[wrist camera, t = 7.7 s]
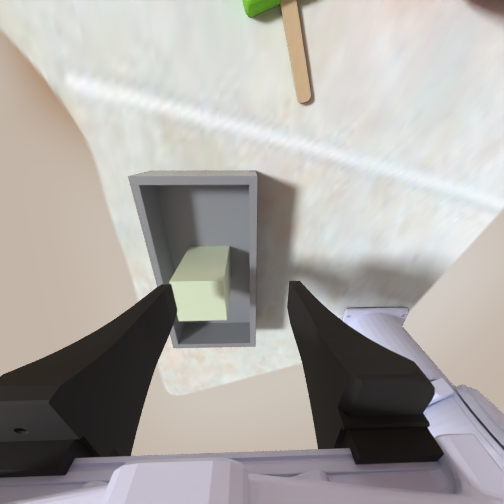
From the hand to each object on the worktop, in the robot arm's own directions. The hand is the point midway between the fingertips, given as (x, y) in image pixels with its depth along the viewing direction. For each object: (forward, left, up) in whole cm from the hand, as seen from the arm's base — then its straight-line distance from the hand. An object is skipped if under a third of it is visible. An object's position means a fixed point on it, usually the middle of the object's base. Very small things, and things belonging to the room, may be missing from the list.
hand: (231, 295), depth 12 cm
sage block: (-3, +3, -9) cm, 9 cm away
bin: (-3, +3, -9) cm, 10 cm away
